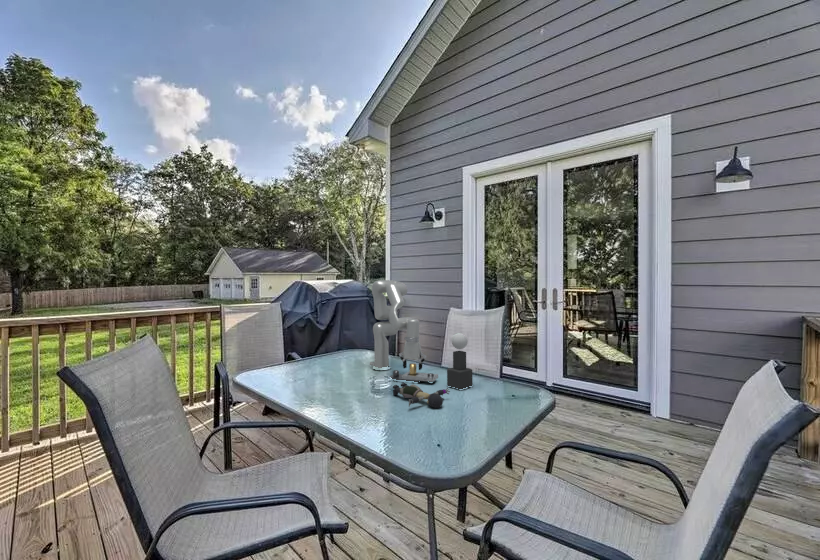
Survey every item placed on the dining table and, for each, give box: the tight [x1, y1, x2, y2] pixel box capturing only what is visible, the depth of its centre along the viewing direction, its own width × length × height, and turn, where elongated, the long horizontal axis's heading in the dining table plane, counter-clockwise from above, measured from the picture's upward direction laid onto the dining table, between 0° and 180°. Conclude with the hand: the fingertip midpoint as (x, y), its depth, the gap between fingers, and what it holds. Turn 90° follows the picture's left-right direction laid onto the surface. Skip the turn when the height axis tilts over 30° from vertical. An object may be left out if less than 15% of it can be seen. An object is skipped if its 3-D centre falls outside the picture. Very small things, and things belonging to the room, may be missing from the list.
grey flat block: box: [389, 369, 439, 382], centre depth 219 cm, size 28×10×5 cm, turn 68°
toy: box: [392, 382, 451, 409], centre depth 181 cm, size 27×7×30 cm
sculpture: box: [446, 332, 474, 389], centre depth 205 cm, size 10×10×30 cm
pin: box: [408, 362, 417, 376], centre depth 219 cm, size 4×4×10 cm
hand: (412, 368), depth 219 cm, fingers open, 9 cm apart
